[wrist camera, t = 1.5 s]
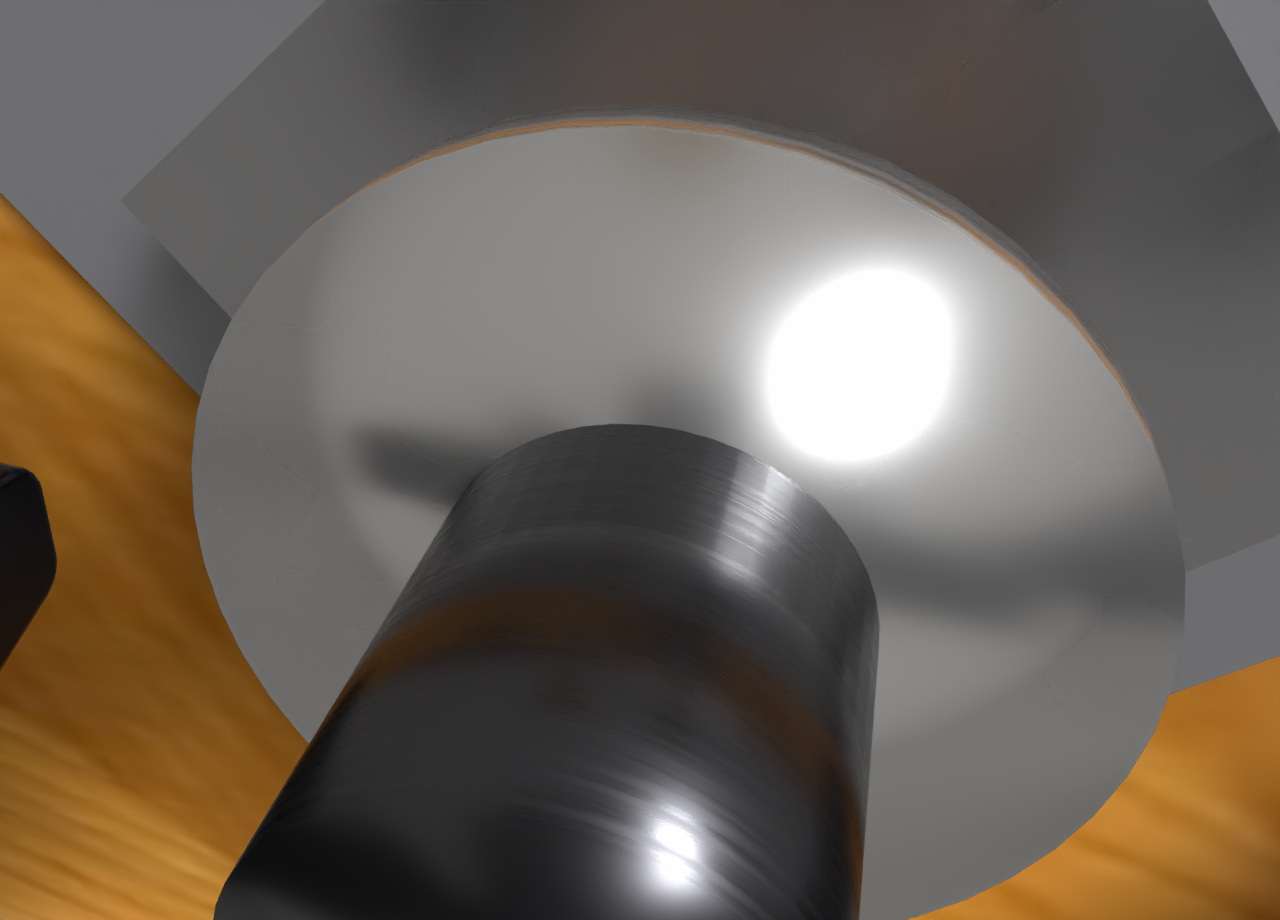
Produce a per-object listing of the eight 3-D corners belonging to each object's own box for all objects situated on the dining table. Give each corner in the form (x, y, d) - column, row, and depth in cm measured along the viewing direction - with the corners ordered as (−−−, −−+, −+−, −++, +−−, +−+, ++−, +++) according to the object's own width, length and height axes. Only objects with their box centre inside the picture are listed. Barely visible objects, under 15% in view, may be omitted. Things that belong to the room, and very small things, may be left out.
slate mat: (1986, 350, 15) (2043, 388, 15) (672, 834, 26) (664, 871, 25) (1196, -1949, 9) (1221, -2122, 8) (-153, -27, 19) (-202, -13, 18)
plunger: (1225, 393, 12) (1591, 1330, 5) (691, 641, 16) (483, 1412, 9) (843, -224, 10) (608, -22, 3) (318, 218, 13) (-362, 794, 6)
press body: (1326, 259, 16) (1459, 463, 12) (722, 560, 20) (665, 778, 16) (916, -480, 13) (899, -562, 8) (316, 79, 17) (120, 200, 13)
